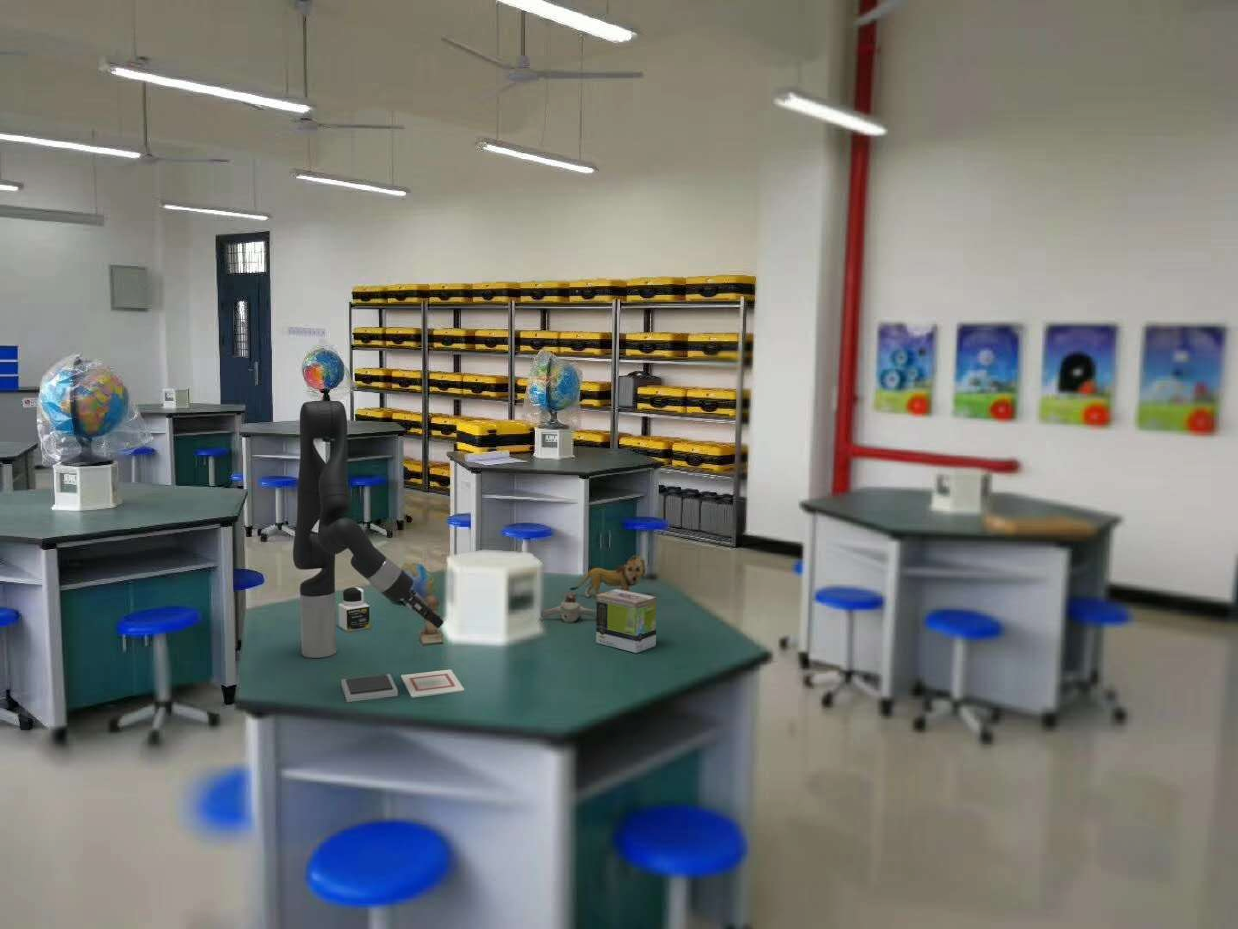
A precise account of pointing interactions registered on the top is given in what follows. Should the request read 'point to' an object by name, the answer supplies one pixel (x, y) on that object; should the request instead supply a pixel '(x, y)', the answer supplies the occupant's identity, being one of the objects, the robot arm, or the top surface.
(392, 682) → the ink pad
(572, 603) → the vertebra
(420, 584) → the decorative rock
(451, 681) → the card
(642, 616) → the tea box
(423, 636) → the stamp
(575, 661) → the top surface
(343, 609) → the medicine bottle
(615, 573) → the animal model
